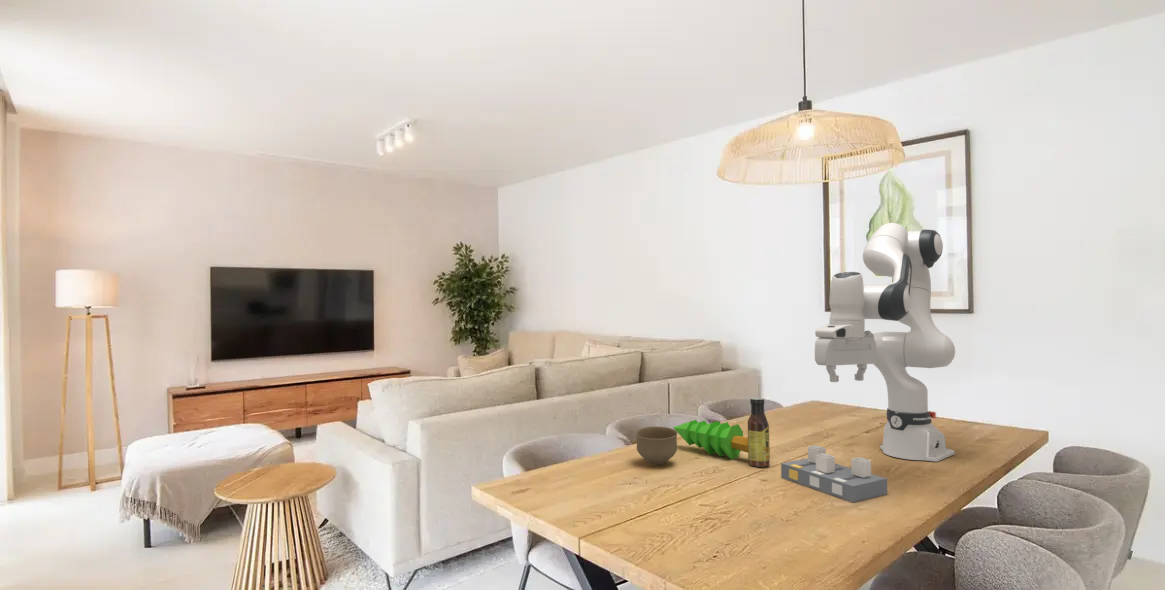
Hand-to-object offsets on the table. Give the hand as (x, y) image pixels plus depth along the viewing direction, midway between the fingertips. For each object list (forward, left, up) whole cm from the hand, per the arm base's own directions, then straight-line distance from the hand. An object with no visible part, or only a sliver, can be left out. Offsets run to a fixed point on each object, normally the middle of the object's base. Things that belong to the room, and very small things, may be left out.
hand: (846, 381), depth 162 cm
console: (+7, +1, -27) cm, 28 cm away
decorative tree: (+13, -40, -27) cm, 50 cm away
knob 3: (+5, +8, -23) cm, 25 cm away
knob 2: (+10, +1, -23) cm, 25 cm away
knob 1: (+5, -6, -23) cm, 24 cm away
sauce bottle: (+10, -23, -27) cm, 37 cm away
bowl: (+36, -39, -27) cm, 60 cm away
